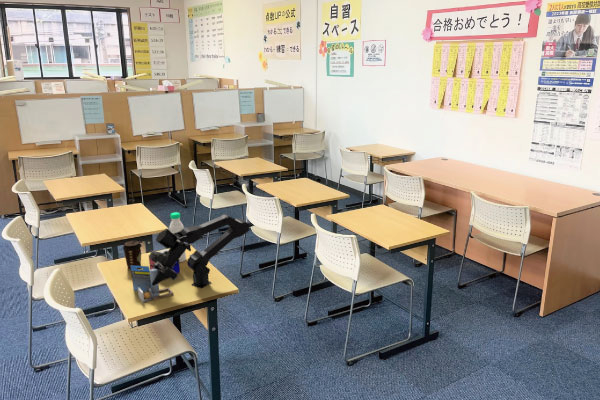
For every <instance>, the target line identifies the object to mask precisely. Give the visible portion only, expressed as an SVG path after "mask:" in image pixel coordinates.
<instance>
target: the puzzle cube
mask: <svg viewBox="0 0 600 400" xmlns="http://www.w3.org/2000/svg"><path fill="white" fill-rule="evenodd" d="M168 250H169V249H168V248H165V249H162V250H159V251H158V252H161V253H164V252H165V251H168ZM149 256H150V254H149V255H148V264H149V271H150V270H151V269H154V267H153V263H154V264H155V262H153V261H152V260H151V259H150V258H149ZM178 260H179V259H178ZM180 267H181V266H180V262H176V263H175V264H174V266H173V268H174V269H173V270H174V271H175V272H176V273H177V274H179V273H181V269H180Z"/></svg>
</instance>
